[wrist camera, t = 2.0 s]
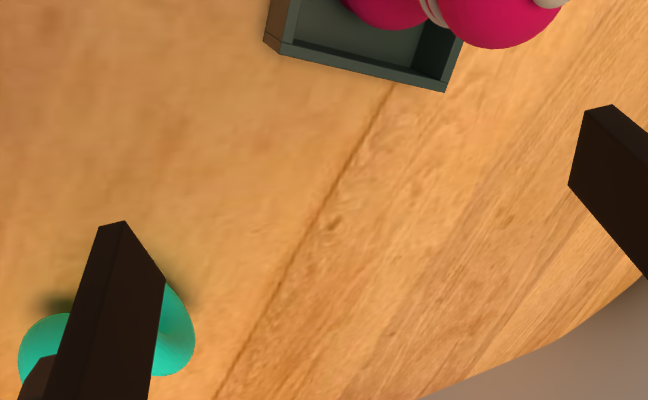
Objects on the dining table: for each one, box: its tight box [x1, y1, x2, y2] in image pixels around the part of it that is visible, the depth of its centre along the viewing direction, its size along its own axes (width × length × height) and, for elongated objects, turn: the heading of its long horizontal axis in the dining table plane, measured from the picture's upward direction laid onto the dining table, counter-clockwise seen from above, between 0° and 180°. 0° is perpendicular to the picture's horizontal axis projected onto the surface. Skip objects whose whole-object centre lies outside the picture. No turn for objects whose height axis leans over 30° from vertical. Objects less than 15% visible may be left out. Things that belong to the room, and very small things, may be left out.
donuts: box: [18, 283, 195, 384], centre depth 37 cm, size 10×10×10 cm
